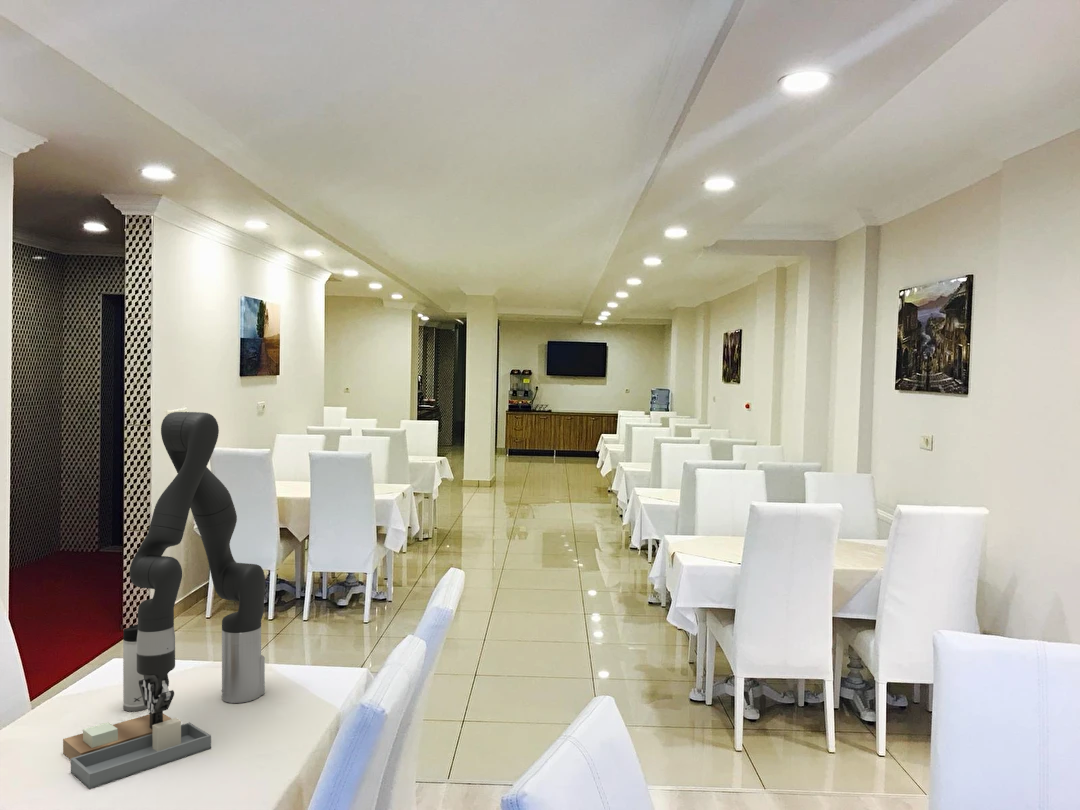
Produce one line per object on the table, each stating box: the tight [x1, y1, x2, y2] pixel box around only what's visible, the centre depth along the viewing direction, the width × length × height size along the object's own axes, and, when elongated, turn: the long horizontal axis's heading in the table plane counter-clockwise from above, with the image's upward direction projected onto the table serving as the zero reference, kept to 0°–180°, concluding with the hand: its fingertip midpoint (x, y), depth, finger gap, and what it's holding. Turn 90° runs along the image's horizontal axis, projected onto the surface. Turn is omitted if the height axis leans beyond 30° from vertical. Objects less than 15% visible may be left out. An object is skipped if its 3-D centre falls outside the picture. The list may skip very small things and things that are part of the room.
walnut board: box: [62, 713, 172, 760], centre depth 175 cm, size 20×10×3 cm, turn 138°
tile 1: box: [82, 721, 118, 748], centre depth 170 cm, size 5×5×2 cm
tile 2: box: [152, 717, 182, 751], centre depth 174 cm, size 5×5×2 cm
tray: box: [70, 721, 212, 790], centre depth 168 cm, size 24×10×3 cm, turn 138°
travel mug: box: [122, 623, 148, 713], centre depth 196 cm, size 6×7×20 cm
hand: (156, 728), depth 175 cm, fingers closed
